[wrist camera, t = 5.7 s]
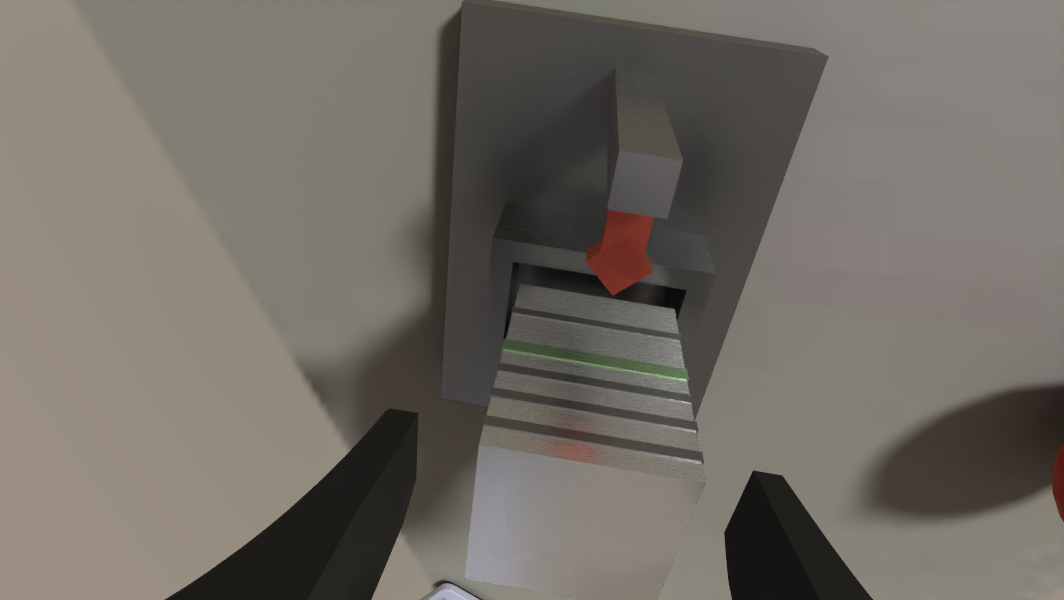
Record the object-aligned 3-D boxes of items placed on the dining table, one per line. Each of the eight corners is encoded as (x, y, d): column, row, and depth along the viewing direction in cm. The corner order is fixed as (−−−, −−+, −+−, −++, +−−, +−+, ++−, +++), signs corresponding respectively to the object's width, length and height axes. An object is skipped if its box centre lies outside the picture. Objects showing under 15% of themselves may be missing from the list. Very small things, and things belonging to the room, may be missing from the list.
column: (640, 423, 17) (653, 613, 12) (503, 400, 17) (463, 578, 12) (676, 308, 15) (707, 482, 10) (519, 282, 15) (477, 443, 10)
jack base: (683, 417, 22) (716, 628, 15) (448, 377, 22) (378, 568, 16) (813, 48, 15) (977, 136, 8) (471, -3, 16) (365, 42, 9)
